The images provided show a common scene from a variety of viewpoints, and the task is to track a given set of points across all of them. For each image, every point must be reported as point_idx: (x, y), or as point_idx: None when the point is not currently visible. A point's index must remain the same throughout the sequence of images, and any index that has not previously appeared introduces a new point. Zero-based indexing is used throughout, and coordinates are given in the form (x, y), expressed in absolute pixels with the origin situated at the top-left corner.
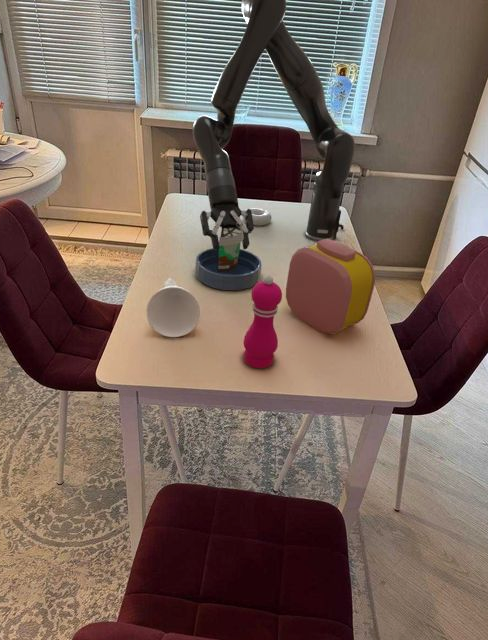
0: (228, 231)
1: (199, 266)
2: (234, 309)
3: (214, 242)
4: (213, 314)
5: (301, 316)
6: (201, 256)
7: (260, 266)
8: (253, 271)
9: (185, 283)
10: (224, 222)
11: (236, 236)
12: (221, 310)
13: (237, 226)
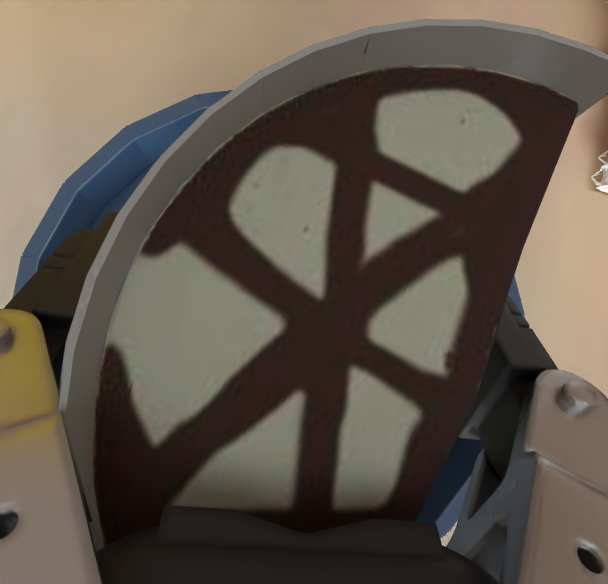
0: (356, 343)
1: (521, 304)
2: (386, 4)
3: (513, 316)
4: (493, 3)
5: None
6: (436, 497)
7: (80, 170)
8: (178, 115)
9: (536, 313)
10: (417, 575)
11: (338, 47)
12: (447, 18)
13: (91, 502)
